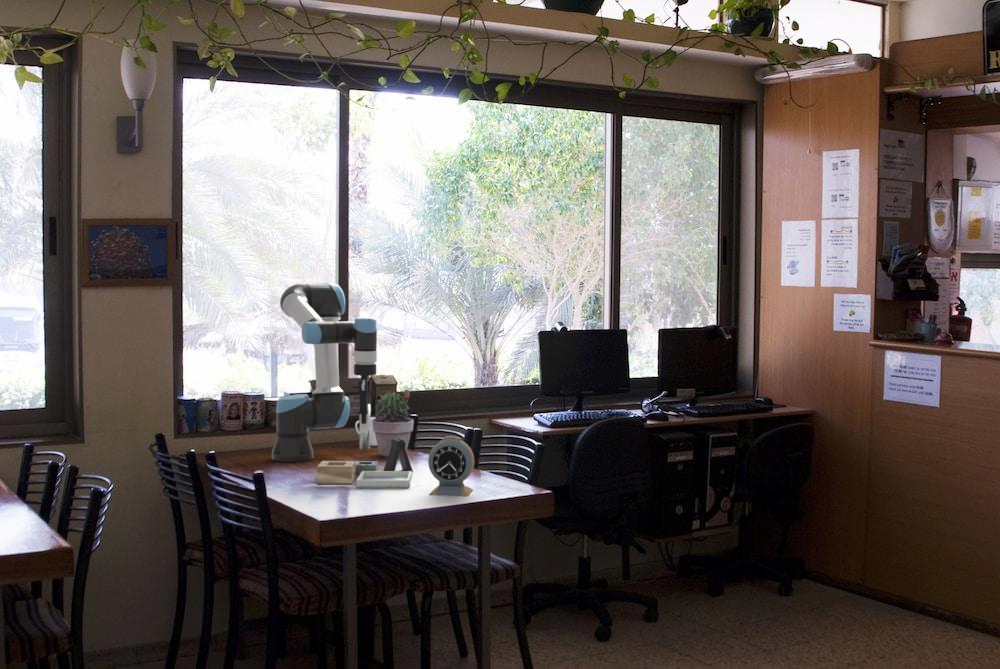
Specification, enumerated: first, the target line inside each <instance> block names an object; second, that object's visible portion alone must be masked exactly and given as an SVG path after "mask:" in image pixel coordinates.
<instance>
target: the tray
mask: <svg viewBox="0 0 1000 669" xmlns="http://www.w3.org/2000/svg"><path fill="white" fill-rule="evenodd" d="M366 477H367V478H369V477H370V478H374V477H376V478H379V477H380V478H386V477H387V478H401V477H402V478H406V479H364V478H366ZM412 478H413V472H412V471H404V470H395V471H383V470H378V471H362V472H361V474H360V475H359V476H358V477H357V479H356V489H409V488H410V486H411V484H410V483H411V481H412Z"/></svg>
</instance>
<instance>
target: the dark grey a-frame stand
mask: <svg viewBox="0 0 1000 669" xmlns="http://www.w3.org/2000/svg"><path fill="white" fill-rule="evenodd" d="M398 455H399V457H398ZM386 458H387V459H386V462H385V464H384V468H383V470H382V471H396V468H397V467H396V466H397V463H398V458H399V462H400V466H401V471H412V473H414V471H413V467H412V465H411V462H410V459H409V456H408V452H406V450H405V442H404V441H403V440H401V439H398V438H396V439H395V438H393V439H392V441H391V449H390V452H389V455H388V457H386Z"/></svg>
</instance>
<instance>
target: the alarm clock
mask: <svg viewBox="0 0 1000 669" xmlns="http://www.w3.org/2000/svg"><path fill="white" fill-rule="evenodd" d="M428 454H429V455H428V459H427V460H428V461H427V464H428V468H429V471H430V473H431V474H432V476H433V477H434V478H435V479H436V480H437V481H438V482H439V483H438V486H436V487H435V488H434V489H432V491H431V492H430V493H429V494H428V496H441V497H442V495H443V496H444V497H445V496H447V497H449V496H450V497H469V496H470V493H471V494H472V492H473V491H474V489H473V488H471V487H469V486H466V485H465V483H464V481H466V480H467V478H469V476H470V475H471V474H472V472H473V470H474V468H475V455H474V453H473V450H472V448H471V447H470V446H469V445H468V443H466V442H465V441H464V440H462V439H461V437H458V436H455V435H448V436H445V437H443V438H441V440H439V442H437V443H436V444H434V445H433V447H432V448H431V450H430V452H429V453H428Z"/></svg>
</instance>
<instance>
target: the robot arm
mask: <svg viewBox="0 0 1000 669" xmlns="http://www.w3.org/2000/svg"><path fill="white" fill-rule="evenodd" d="M279 305H280V308H281V311H282V312H283V313H284V314H285V316H287V317H289V318H291V319H293V320H294V321H295V323H297V325H298V326H299V327H300V328H301V338H302V341H303V343H304V344H307V345H314V346H313V347H314V367H315V389H314V390H313V391H312V394H311V395H312V397H309V394H307V393H301V394H289V395H286V396H282V397H279V398H278V400H277V401H276V409H275V413H276V420H275V421H276V426H275V427H276V438H275V439H276V440H275V442H274V444H273V448H272V451H271V460H272V461H276V462H281V463H282V462H286V463H289V462H290V463H294V462H306V461H312V460H314V454H315V452H314V449H313V447H312V443H311V441H310V437H309V436H310V434H309V433H310V432H309V431H310V430H321V429H324V430H325V429H336V428H337V429H338V428H343V427H344V426H345V425H346V424H347V422H348V421H349V417H350V411H351V410H350V409H351V404H350V399H349V397H348V396H346V395H344V394H345V391H344V390H343V389H342V388H341V387H340V373H339V371H340V369H339V348H338V346H339V345H338V344H353V346H354V347H353V350H354V352H353V353H352V354H351V355H352V356H353V362H354V365H353V374H354V375H355V376H360V379H359V380H358V387H359V388H358V393H359V405H360V410H359V411H358V412H357V415H359V414H360V430H359V432H360V433H368V404H370V405H371V391H372V387H371V386H372V379H370V376H372V377H373V376H375V375H377V364H376V363H377V358H378V356H377V354H378V353H377V352H378V350H377V342H378V340H377V339H378V338H377V336H378V335H377V334H378V323H377V319H376V318H375V317H372V316H371V317H368V316H359V317H356V318H355V319H354V320H346V321H345V320H344V321H340V320H341V315H344V313H345V312H346V297H345V293H344V291H343V289H342V288H341V286H340V284H337V283H328V282H327V283H322V282H321V283H304V282H303V283H295V284H293V285H291V286H289V287H288V288H286V289H285V290H284V291H283V293H282V295H281V297H280V302H279ZM372 411H373V408H370V412H372Z"/></svg>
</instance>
